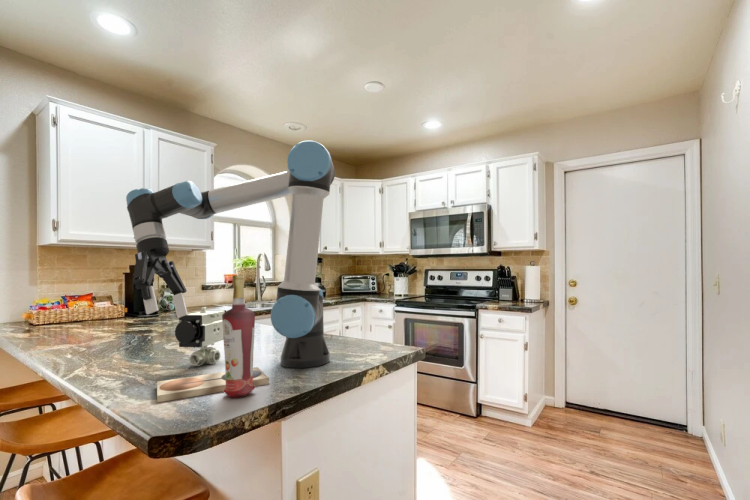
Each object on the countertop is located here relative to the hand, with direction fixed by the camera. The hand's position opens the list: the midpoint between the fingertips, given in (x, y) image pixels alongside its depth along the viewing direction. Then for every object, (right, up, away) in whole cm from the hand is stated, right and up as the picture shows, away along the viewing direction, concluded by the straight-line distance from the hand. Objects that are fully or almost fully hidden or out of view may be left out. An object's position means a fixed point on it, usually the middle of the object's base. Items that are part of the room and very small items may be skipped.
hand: (168, 314), depth 102 cm
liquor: (+23, -17, -11) cm, 31 cm away
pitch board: (+13, -18, -3) cm, 22 cm away
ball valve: (+1, -19, +21) cm, 28 cm away
